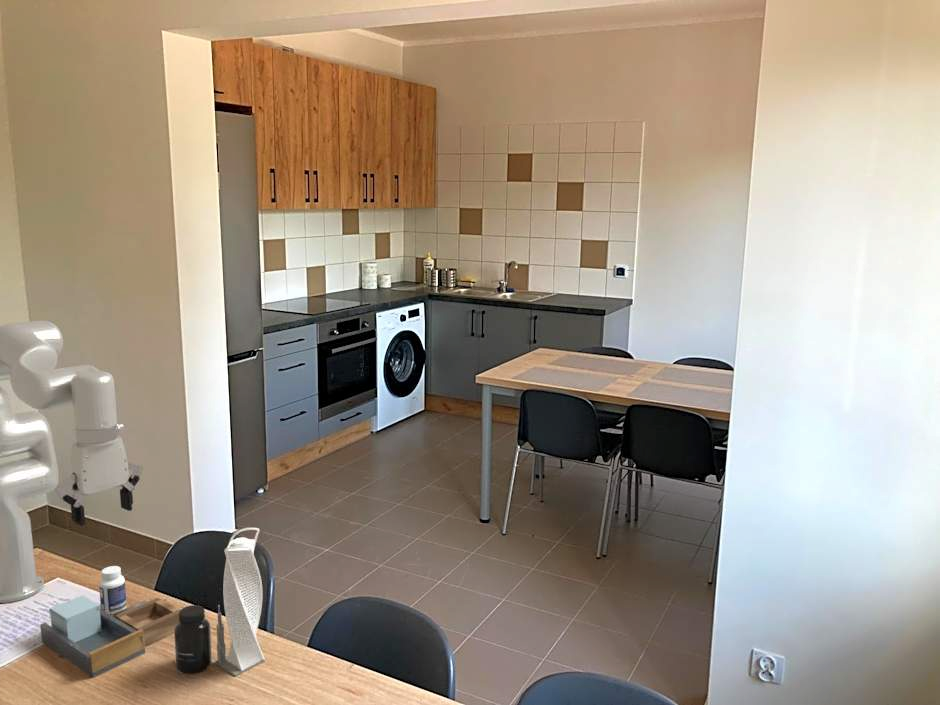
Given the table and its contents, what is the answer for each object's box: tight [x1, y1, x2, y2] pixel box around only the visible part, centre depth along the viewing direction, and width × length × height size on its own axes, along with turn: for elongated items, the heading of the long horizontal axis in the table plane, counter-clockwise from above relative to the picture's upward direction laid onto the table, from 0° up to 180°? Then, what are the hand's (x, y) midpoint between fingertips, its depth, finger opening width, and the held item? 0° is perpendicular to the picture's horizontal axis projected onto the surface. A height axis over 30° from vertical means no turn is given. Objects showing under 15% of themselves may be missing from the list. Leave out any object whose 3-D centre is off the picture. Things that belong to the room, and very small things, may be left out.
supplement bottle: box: [173, 604, 213, 675], centre depth 154 cm, size 7×7×12 cm
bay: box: [39, 608, 146, 678], centre depth 161 cm, size 21×11×5 cm, turn 53°
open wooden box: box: [112, 597, 181, 648], centre depth 169 cm, size 14×10×4 cm
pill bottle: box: [98, 565, 128, 615], centre depth 176 cm, size 5×5×10 cm
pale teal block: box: [48, 595, 101, 642], centre depth 164 cm, size 7×7×6 cm
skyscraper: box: [215, 527, 266, 677], centre depth 154 cm, size 8×8×28 cm
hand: (103, 516), depth 154 cm, fingers open, 9 cm apart
